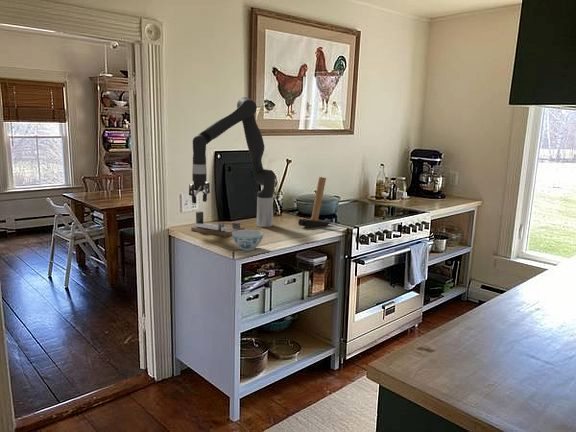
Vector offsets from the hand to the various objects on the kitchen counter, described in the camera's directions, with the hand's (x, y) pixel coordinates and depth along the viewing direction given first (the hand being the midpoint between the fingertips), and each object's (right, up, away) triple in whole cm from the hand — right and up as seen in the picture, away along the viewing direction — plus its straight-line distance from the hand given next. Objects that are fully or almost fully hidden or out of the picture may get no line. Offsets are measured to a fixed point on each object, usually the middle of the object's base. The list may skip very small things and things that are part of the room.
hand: (199, 202), depth 248 cm
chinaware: (+29, -23, -31) cm, 48 cm away
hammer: (+64, -14, +22) cm, 69 cm away
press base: (+9, -16, +4) cm, 19 cm away
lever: (+6, -14, -1) cm, 15 cm away
